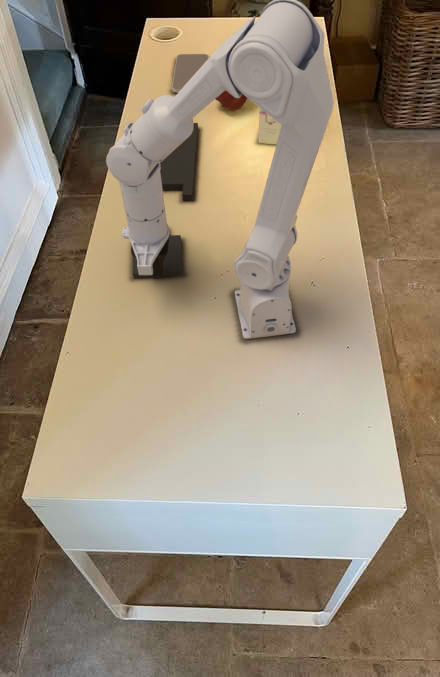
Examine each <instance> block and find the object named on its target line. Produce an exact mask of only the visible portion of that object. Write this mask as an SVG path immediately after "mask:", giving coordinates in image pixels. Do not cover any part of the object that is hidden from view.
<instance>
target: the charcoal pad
mask: <svg viewBox="0 0 440 677" xmlns="http://www.w3.org/2000/svg"><path fill="white" fill-rule="evenodd" d="M168 244H169V247H168V253H167V256H166V257H165V259H164V262H163V272H162V276H149V275H139V273H138V268H137V259H136V258H135V257H133V256H132V277H133V279H134V280H135V279H137V280H138V279H148V278H163V277H165V278H166V277H178V276H183V275H184V274H183V251H182V236H181V234H177V235H176V234H174V235H170V237H169V243H168Z"/></svg>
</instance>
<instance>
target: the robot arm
mask: <svg viewBox="0 0 440 677" xmlns="http://www.w3.org/2000/svg"><path fill="white" fill-rule="evenodd" d="M324 48H325V31H324V30H323V29H322V27H321V25H320V24H319V23H318V21H317V20H316V18H315V17H314V16H313V14H312V12H311V11H310V10H309V9H308V7H307V6H306V5H305V4H304V3H302V2H301V1H299V0H271V1H270V2H268V3H267V4H266V5H265V7H264V8H263V9H262V10H261V13H260V14H259V17H258V19H257V20H256V15H254V16H252V18H250V19H249V20H247V21H246V22H245V23H243V24H242V25H241V26H240V27H239V28H238V29H237V30H236V31H234V32H233V33H232V34H231V35H230V36H229V37H227V39H225V40H224V41H223V42H222V43H221V44H220V45H219V46H218V47H217V48H216V50H214V52H213V53H212V54H211V55H209V59H208V60H207V61H206V62H205V63H204V64H203V65H202V66H201V68H200V69H199V70H198V71H197V72H196V73H195V74H194V76H193V77H192V78H191V79H190V80H189V81H188V82H187V83H186V85H185V86H184V87H183V88H182V89H181V90H180V91H179V92H178V93H176V95H175V96H174V95H168V94H164V95H160V96H158V97H156V98H155V100H154V99H153V98H152V97H150V98H148V99H147V101H145V103H144V104H143V106H141V108H140V112H142V114H141V115H140V116H139V117H138V118H137V119H136V121H135V122H134V123H133V122H132V121H129V122H128V123H127V125H126V126H125V127H124V128H123V130H122V131H123V134H122V135H121V136H120V137H119V139H118V140H117V141H116V142H115V143H114V145H113V146H111V147H110V148H109V149H108V153H107V154H106V158H105V159H106V160H105V162H106V168H107V169H108V171H109V172H110V174H111V175H112V176H113V177H114V178H115V179H116V180H117V181H118V182H119V187H120V192H121V198H122V202H123V207H124V212H125V217H126V222H127V226H123V227H122V230H121V237H122V239H124V240H129V242H130V244H131V247H130V252H131V255H132V258H133V257H135V258H136V259H137V268H138V273H139V275H149V276H162V272H163V262H164V259H165V257H166V256H167V253H168V247H169V244H168V243H169V237H170V236H171V235H170V227H169V225H168V220H167V213H166V212H167V211H166V204H165V197H164V190H163V189H162V181H161V174H160V169H161V166H160V162H162V161H163V160H164V159H165V158H166V157H167V156H168V155H170V154H171V153H172V152H173V151H174V150H175V149H176V148H177V147H178V146H179V145H180V144H182V143H183V142H184V141H185V140H186V139H187V138H188V137H189V136H190V135H191V134H192V131H193V126H194V123H195V122H194V118H195V117H196V116H197V115H198V114H200V113H201V112H202V111H203V110H204V109H206V107H208V106H209V105H210V104H211V103H212V102H214V100H216V98H217V97H218V96H219V95H220V94H221V93H223V92H224V91H227V92H228V93H230V94H231V95H232V96H234V97H235V98H240V97H241V95H242V94H244V95H245V96H246V97H247V100H249V101H250V102H252V103H253V104H255V106H257V107H258V108H259V107H260V108H261V109H262V110H264V111H265V112H266V113H267V114H269V115H270V116H271V117H272V118H274V119H275V120H276V121H277V122H279V123H280V124H282V126H281V130H280V133H279V137H278V141H277V144H275V149H274V153H273V156H272V160H271V164H270V167H269V171H268V175H267V178H266V182H265V185H264V190H263V194H262V197H261V201H260V204H259V209H258V212H257V216H256V219H255V223H254V225H253V228H252V230H251V233H250V235H249V237H248V239H247V240H246V243H245V244H244V246H243V248H242V250H241V252H240V254H238V255H239V256H237V257H236V259H234V260H235V261H234V262H233V272H234V275H235V276H236V277H237V279H238V280H239V285H240V286H239V288H240V289H237V290H235V291H234V298H235V303H236V307H237V308H236V309H237V313H238V318H239V323H240V328H241V332H242V333H241V334H242V338H243V339H245V340H250V339H257V338H258V339H259V338H266V337H272V336H273V337H274V336H282V335H289V334H295V333H296V331H297V328H296V325H295V321H294V317H293V313H292V312H293V311H292V310H293V306H292V302H291V297H290V293H289V292H290V291H289V290H290V280H291V271H292V270H291V269H292V266H291V260H290V256H289V255H290V253H291V251H292V249H293V247H294V245H295V244H296V242H297V240H298V231H297V226H296V223H297V220H298V215H297V214H298V211H299V208H300V205H301V202H302V200H303V197H304V194H305V191H306V188H307V185H308V182H309V179H310V176H311V173H312V170H313V167H314V164H315V162H316V160H317V156H318V154H319V151H320V148H321V144H322V142H323V137H324V135H325V133H326V130H327V127H328V125H329V121H330V118H331V115H332V113H333V110H334V102H335V101H334V96H333V91H332V86H331V82H330V77H329V72H328V67H327V63H326V58H325V49H324Z"/></svg>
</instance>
